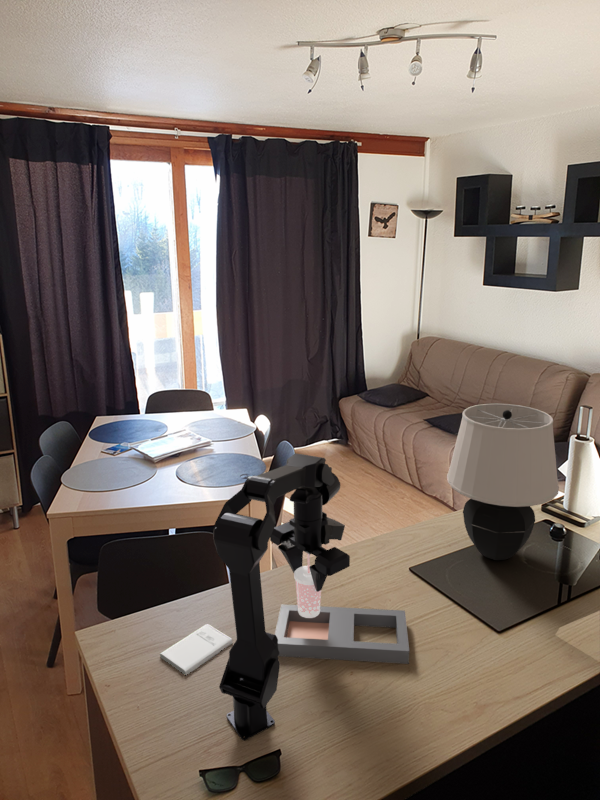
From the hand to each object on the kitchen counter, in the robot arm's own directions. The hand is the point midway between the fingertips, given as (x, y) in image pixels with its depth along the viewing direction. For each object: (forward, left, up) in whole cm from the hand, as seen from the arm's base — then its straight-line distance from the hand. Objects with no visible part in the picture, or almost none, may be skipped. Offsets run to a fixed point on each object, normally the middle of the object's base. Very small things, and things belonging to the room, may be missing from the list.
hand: (308, 583), depth 122 cm
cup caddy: (-4, -5, -13) cm, 15 cm away
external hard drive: (+10, +21, -14) cm, 27 cm away
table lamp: (-1, -59, -13) cm, 60 cm away
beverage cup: (0, 0, -7) cm, 7 cm away
